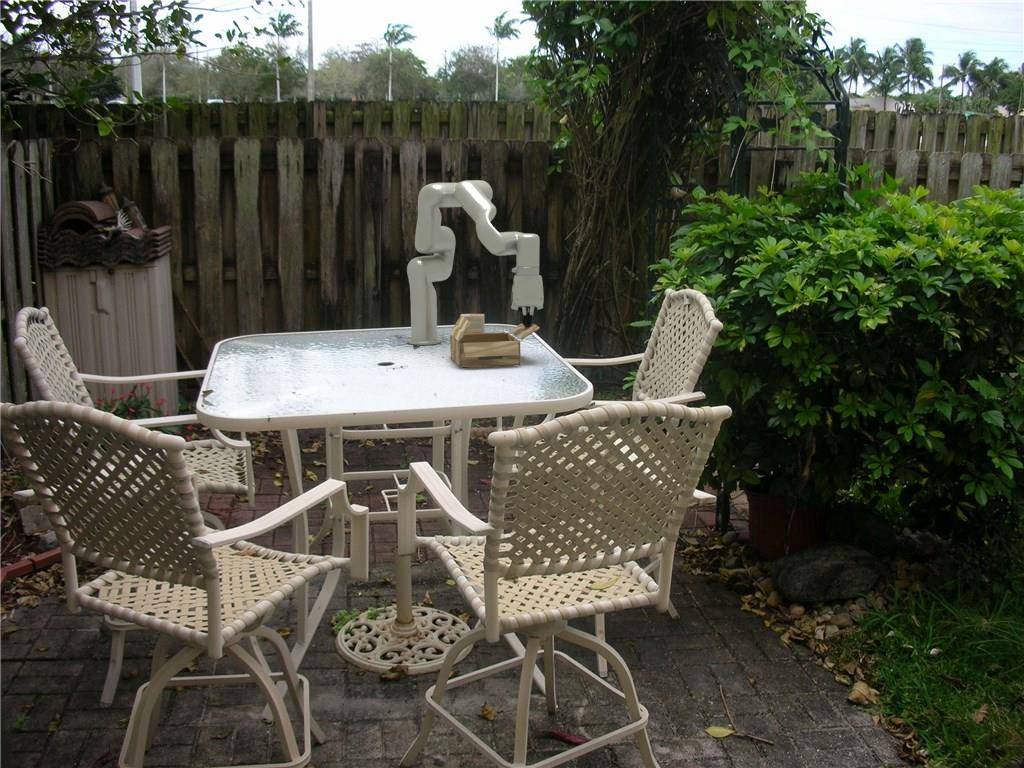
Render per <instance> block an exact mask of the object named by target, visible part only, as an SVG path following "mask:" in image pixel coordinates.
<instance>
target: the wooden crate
mask: <svg viewBox="0 0 1024 768" xmlns="http://www.w3.org/2000/svg"><path fill="white" fill-rule="evenodd" d="M449 338H450V359H451V360H452V362H453V363H455V365H456V366H457V365H458V366H459V367H460V368H459V367H458V366H457V367H458V368H459V369H463V368H462V367H477V368H493V367H492V366H499V367H515V366H514V365H520V366H521V341H520V339H518V338H517V337H516V336H515V337H514V335H513V334H511V333H510V332H505V333H495V334H468V335H464V336H463V337H462V339H461V341H460V342H458V341H457V340H456V339H455V338H454V337H453V336H452V335H451V334H450V337H449ZM502 341H518V347H519V355H513V356H490V357H467V358H465V356H464V347H463V343H477V342H502Z"/></svg>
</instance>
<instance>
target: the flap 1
mask: <svg viewBox="0 0 1024 768" xmlns="http://www.w3.org/2000/svg"><path fill="white" fill-rule="evenodd" d="M470 325H471V322H469V321H468V320H467V319H465V318H464V317H463V316H460V315H459V318H458V319H457V320H456V323H455V324H454V326H453V327H452V329H451V330H450V332H449V334H450V335H452V336H453V337H454V338H455V339H456V340H457V341H458V342H460V341H461V339H462V337H463V336H464V334H465V333H466V331H467V329H468V328H469V326H470Z"/></svg>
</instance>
